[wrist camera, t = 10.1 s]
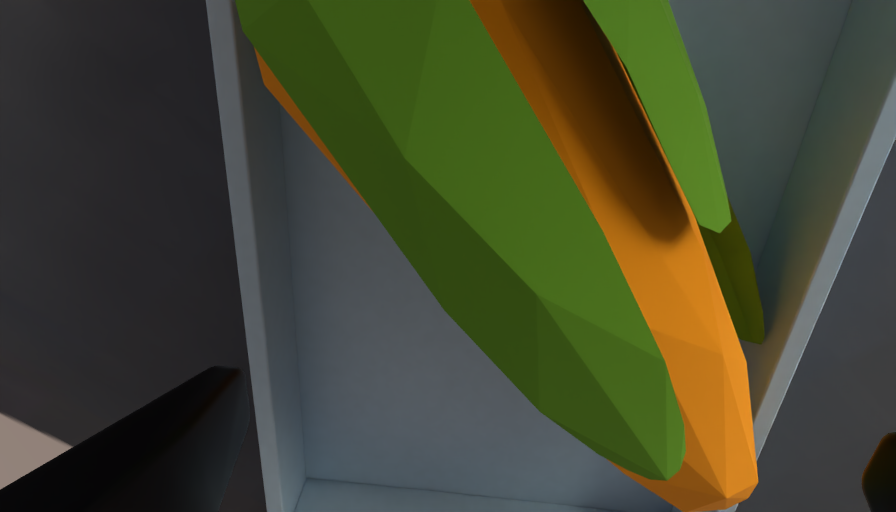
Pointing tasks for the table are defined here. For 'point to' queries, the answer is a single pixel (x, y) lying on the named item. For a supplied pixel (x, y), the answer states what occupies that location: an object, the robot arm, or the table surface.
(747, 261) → the corn
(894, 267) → the table surface
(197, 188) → the table surface
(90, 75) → the table surface
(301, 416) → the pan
